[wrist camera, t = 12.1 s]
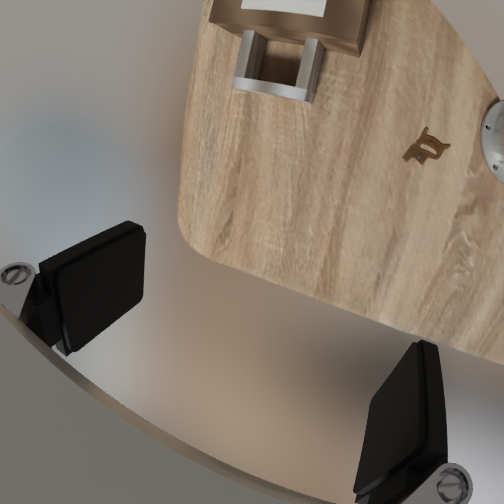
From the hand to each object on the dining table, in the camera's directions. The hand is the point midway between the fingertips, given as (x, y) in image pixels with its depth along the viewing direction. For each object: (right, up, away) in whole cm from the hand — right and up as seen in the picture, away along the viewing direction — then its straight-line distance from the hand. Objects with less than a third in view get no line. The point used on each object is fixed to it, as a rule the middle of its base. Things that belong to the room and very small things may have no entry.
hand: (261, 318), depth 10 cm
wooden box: (+6, +33, +25) cm, 42 cm away
